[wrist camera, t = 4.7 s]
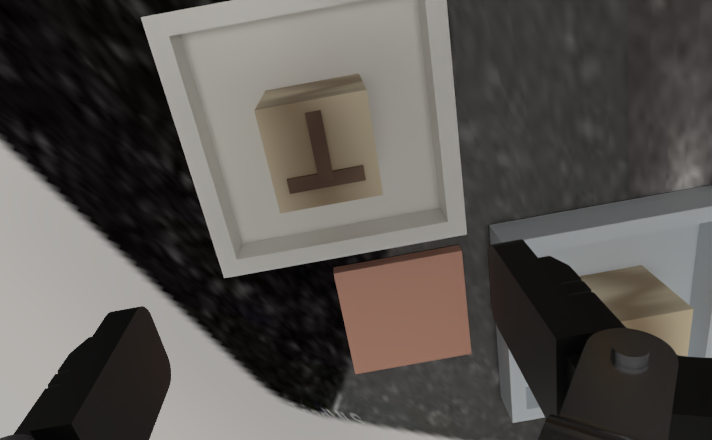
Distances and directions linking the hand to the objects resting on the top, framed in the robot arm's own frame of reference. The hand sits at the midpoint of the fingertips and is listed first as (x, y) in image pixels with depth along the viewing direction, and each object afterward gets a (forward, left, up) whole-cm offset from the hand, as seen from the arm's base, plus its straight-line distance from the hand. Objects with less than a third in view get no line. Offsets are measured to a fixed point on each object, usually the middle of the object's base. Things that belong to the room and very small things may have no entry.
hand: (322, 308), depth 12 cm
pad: (-3, +13, -18) cm, 22 cm away
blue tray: (-16, +15, -18) cm, 28 cm away
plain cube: (-16, +15, -18) cm, 28 cm away
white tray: (0, 0, -18) cm, 18 cm away
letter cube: (0, 0, -18) cm, 18 cm away
